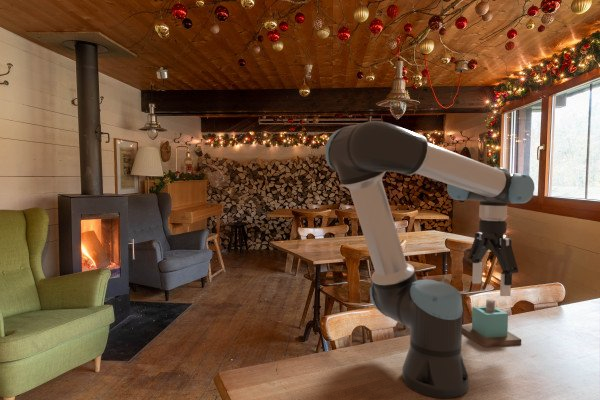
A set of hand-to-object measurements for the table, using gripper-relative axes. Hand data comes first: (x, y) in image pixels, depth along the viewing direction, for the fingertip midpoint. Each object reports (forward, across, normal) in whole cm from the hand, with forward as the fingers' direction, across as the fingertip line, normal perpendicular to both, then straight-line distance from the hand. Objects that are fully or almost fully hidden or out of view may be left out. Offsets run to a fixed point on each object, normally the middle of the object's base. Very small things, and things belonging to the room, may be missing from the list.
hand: (490, 289), depth 119 cm
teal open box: (+14, 0, 0) cm, 14 cm away
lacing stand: (+15, 0, 0) cm, 15 cm away
